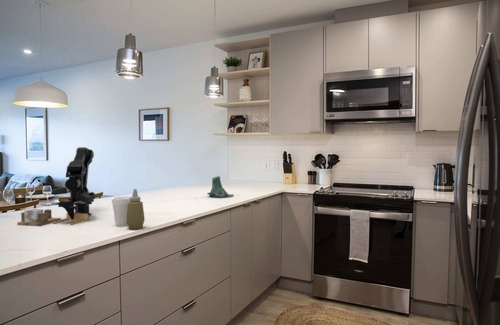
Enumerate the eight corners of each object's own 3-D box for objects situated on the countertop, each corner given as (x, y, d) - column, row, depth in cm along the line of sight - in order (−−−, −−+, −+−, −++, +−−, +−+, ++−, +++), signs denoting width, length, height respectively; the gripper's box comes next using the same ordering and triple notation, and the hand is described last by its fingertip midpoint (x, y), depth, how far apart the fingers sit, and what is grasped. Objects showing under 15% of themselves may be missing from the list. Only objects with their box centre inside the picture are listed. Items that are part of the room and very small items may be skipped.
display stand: (61, 220, 171) (60, 206, 171) (39, 226, 159) (39, 211, 158) (39, 219, 174) (39, 205, 174) (17, 224, 161) (16, 210, 161)
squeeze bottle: (129, 226, 158) (128, 188, 157) (146, 225, 159) (146, 188, 158) (124, 230, 150) (123, 190, 149) (142, 230, 151) (141, 190, 150)
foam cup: (112, 223, 164) (111, 197, 163) (132, 221, 168) (131, 196, 167) (112, 227, 155) (112, 199, 155) (133, 225, 159) (133, 198, 158)
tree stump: (238, 197, 253) (234, 175, 250) (214, 206, 244) (209, 182, 241) (228, 193, 269) (223, 172, 266) (205, 201, 260) (200, 179, 257)
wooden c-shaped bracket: (87, 220, 172) (87, 213, 171) (71, 225, 161) (71, 217, 161) (69, 219, 174) (69, 212, 174) (52, 223, 163) (52, 216, 163)
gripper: (76, 190, 160) (77, 222, 161) (102, 186, 178) (102, 215, 179) (57, 189, 163) (57, 221, 163) (84, 185, 181) (84, 214, 182)
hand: (77, 218), depth 172 cm, fingers open, 6 cm apart
